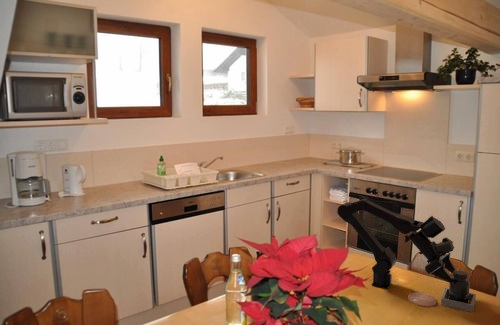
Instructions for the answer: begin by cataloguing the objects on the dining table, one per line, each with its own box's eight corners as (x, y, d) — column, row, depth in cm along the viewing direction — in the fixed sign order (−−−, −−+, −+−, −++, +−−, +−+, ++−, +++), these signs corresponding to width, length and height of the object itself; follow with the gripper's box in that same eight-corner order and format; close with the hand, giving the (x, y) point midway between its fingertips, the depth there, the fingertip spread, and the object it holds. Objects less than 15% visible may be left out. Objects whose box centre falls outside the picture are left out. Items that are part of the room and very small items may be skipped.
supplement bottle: (471, 307, 152) (473, 276, 150) (451, 306, 154) (452, 275, 152) (465, 299, 159) (467, 269, 157) (446, 297, 160) (447, 268, 159)
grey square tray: (440, 304, 155) (441, 298, 154) (445, 293, 163) (445, 287, 163) (473, 312, 149) (473, 305, 149) (475, 300, 158) (475, 294, 157)
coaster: (405, 302, 157) (405, 300, 157) (411, 292, 165) (411, 290, 165) (434, 309, 152) (434, 307, 151) (438, 298, 160) (438, 296, 160)
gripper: (435, 239, 149) (468, 275, 144) (445, 226, 164) (475, 258, 160) (412, 256, 155) (443, 291, 150) (423, 242, 170) (451, 273, 165)
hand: (454, 277), depth 156 cm, fingers open, 9 cm apart
